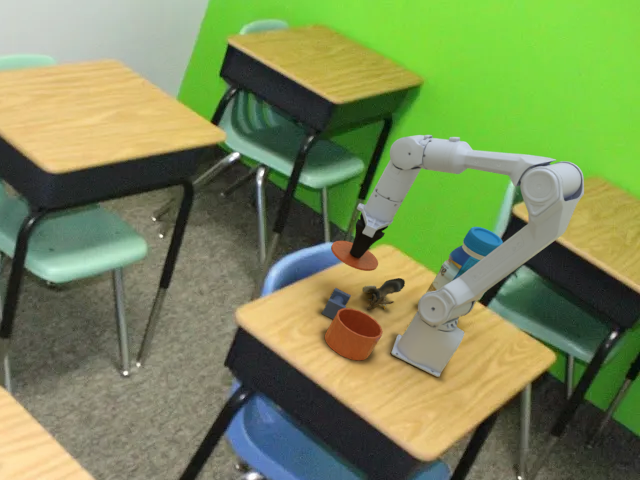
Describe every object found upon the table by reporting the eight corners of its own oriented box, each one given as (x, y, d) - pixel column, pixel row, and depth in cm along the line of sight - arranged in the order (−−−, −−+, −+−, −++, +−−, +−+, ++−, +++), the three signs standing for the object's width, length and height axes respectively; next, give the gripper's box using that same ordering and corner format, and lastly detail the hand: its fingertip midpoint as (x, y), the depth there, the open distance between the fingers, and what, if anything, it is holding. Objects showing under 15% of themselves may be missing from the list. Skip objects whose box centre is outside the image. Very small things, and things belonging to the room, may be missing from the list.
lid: (379, 260, 187) (390, 242, 185) (371, 279, 180) (382, 260, 177) (335, 239, 190) (344, 221, 187) (325, 257, 182) (335, 238, 180)
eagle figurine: (396, 319, 186) (409, 295, 191) (391, 289, 182) (404, 265, 188) (358, 318, 190) (371, 294, 196) (352, 288, 187) (366, 265, 193)
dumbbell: (327, 300, 187) (335, 287, 185) (343, 308, 186) (351, 295, 184) (321, 313, 182) (328, 300, 180) (337, 321, 181) (345, 308, 179)
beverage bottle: (444, 331, 189) (497, 251, 177) (409, 308, 193) (459, 228, 181) (462, 321, 194) (514, 242, 183) (427, 298, 199) (477, 220, 187)
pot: (372, 345, 178) (386, 323, 175) (364, 367, 171) (378, 344, 168) (330, 323, 180) (342, 302, 177) (320, 344, 173) (332, 322, 170)
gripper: (375, 172, 182) (344, 230, 190) (362, 197, 171) (330, 257, 179) (409, 188, 181) (377, 245, 189) (398, 214, 170) (364, 274, 177)
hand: (356, 252), depth 184 cm, fingers closed on lid, 2 cm apart
